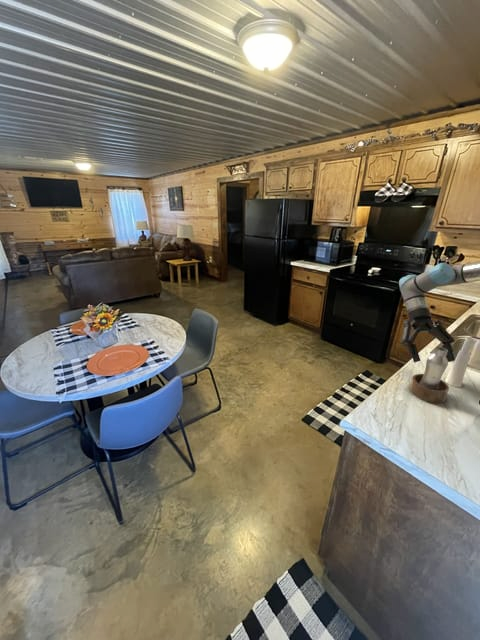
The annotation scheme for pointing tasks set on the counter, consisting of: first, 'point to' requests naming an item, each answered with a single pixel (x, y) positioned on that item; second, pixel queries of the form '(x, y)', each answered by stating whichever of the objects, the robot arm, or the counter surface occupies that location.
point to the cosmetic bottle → (460, 364)
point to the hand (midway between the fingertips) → (434, 361)
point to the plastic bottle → (435, 368)
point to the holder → (428, 390)
